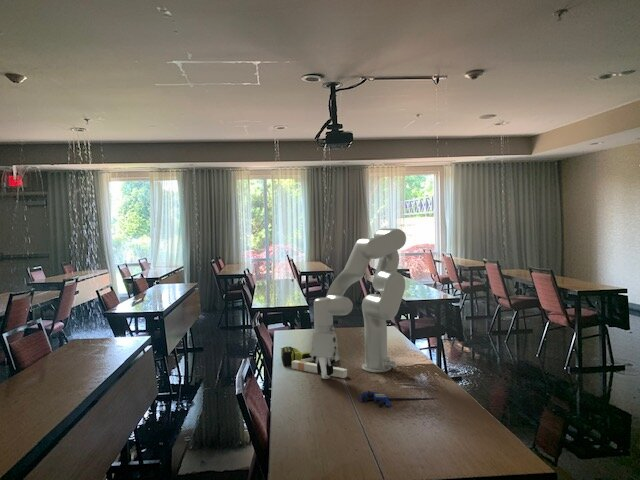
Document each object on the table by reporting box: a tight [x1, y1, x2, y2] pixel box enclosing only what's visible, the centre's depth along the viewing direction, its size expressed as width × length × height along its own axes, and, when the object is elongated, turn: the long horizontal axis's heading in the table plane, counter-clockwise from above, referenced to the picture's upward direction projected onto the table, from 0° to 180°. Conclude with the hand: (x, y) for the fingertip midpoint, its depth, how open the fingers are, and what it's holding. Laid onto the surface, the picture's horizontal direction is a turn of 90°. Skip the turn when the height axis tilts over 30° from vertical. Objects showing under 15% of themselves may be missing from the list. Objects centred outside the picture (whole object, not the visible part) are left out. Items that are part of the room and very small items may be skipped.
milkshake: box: [318, 357, 331, 380], centre depth 178 cm, size 4×5×10 cm
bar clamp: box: [359, 390, 438, 408], centre depth 153 cm, size 32×2×10 cm
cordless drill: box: [280, 346, 335, 367], centre depth 207 cm, size 7×25×25 cm
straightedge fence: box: [291, 360, 348, 379], centre depth 185 cm, size 26×3×3 cm, turn 58°
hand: (325, 373), depth 178 cm, fingers closed on milkshake, 4 cm apart
